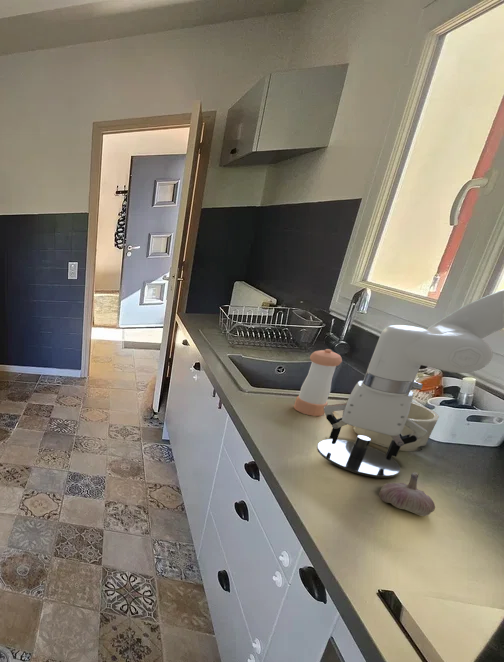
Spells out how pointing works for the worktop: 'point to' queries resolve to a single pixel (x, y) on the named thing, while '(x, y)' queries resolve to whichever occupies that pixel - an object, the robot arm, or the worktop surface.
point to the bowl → (406, 429)
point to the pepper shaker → (317, 383)
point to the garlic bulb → (408, 497)
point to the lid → (358, 457)
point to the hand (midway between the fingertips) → (360, 449)
